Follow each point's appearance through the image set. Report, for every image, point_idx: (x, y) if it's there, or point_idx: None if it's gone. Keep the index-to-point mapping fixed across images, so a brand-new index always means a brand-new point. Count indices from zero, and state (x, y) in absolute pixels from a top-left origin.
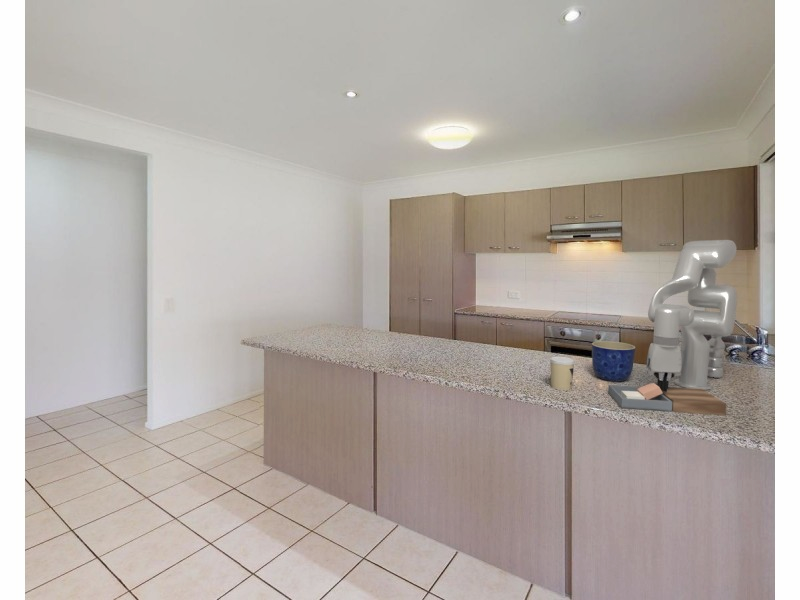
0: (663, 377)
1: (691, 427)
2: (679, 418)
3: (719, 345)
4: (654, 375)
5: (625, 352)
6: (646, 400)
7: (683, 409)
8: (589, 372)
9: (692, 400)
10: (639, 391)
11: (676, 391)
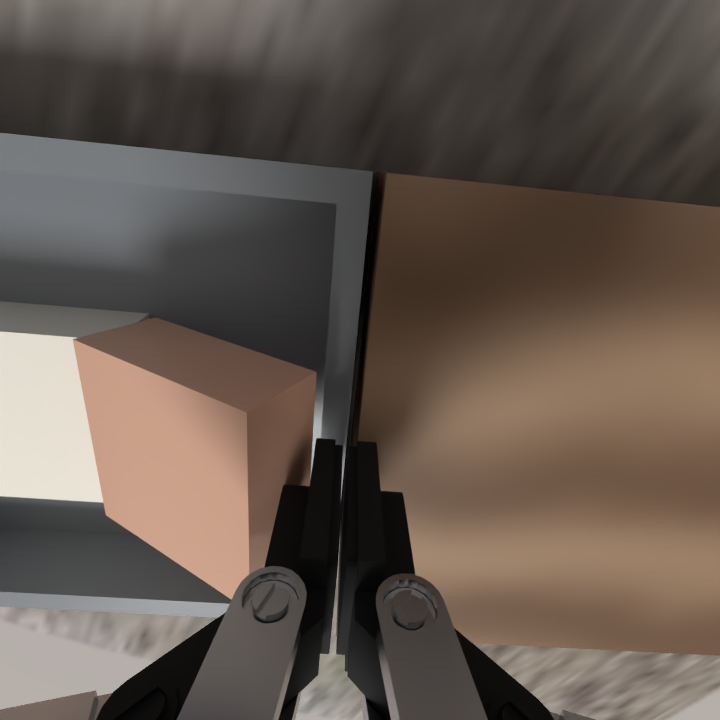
0: (377, 595)
1: (320, 715)
2: None
3: None
4: (160, 672)
5: None
6: (113, 610)
7: None
8: None
9: (513, 620)
10: (94, 407)
11: (557, 393)
